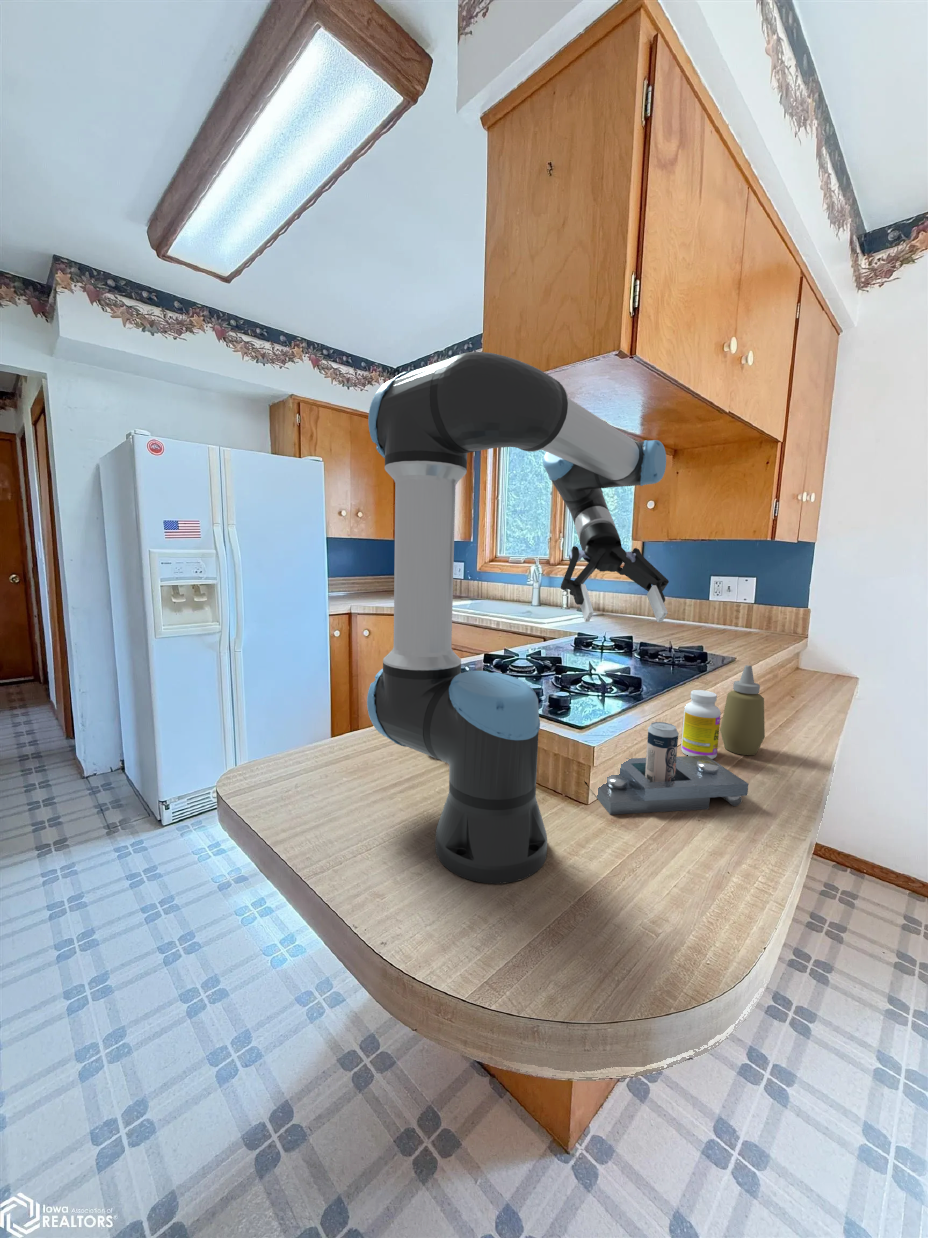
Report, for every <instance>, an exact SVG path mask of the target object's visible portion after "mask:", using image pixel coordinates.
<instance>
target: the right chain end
mask: <svg viewBox="0 0 928 1238" xmlns="http://www.w3.org/2000/svg"><path fill="white" fill-rule="evenodd" d="M628 759H629V758H628ZM645 768H646V757H633V758H631V759H629V760H628V761H626V762H624V763H623V764H621V768H620V774H619V775H620V776H623V777H625V778H626V779H627V783H628V784H629V785H630V786H631V787H632V789H633V790H634V791H635V792H636V793H637V794H638V795H639V796H640V797H641V798H642V799H643V800H644V801H650V800H670V799H689V798H709V797H710V798H722V799H724V800H725V801H726V802H728V803H729V804H730V805H731V806H734V807H738V806H740V804H741V803H742V802H743V801H742V800H743V797H745V796H748V793H749V783H748V782H747V781H745V780H744V779H743V778H741V777H739V776H737V775H736V774H735V773H733V772H732V771H731V770H729V769H728V768H726V767H724V766H723V765H721V764H720V763H719V762H717V761H715V760H714V759H711V758H709V757H708V756H706V755H705V756H687V755H685V756H683V755H682V756H677V757H676V770H675V779H676V780H677V781H665V782H650V781H649V780H648V779H647V778H646V777H645V776H644V775H643V774H645Z"/></svg>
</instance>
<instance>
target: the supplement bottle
mask: <svg viewBox="0 0 928 1238" xmlns="http://www.w3.org/2000/svg"><path fill="white" fill-rule="evenodd" d="M717 696H718V694H716V693H715V692H713V691H710V690H703V689H693V690H691V691H690V700H691V701H689V702H688V703H686V704H685V705H686V706H685V705H684V708H685V709H683V710H684V711H683V721H682V722H683V723H682V733H681V734H682V735H681V744H680V749H681V752H682V753H683V754H684V755H685V756H687V755H688V756H705V755H706V756H708V757H709V758H711V759H712V760H714V759H715V758H716V757H717V756H718V748H719V737H720V727H721V717H722V716H721V715H722V713H721V710H720V708H719V707H718V706H717V705H716V702H717V700H718V699H717V698H718V697H717Z"/></svg>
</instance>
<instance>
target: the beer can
mask: <svg viewBox="0 0 928 1238" xmlns="http://www.w3.org/2000/svg"><path fill="white" fill-rule="evenodd" d="M678 742H679V732H678V730H677V727H676V725H674V724H672V723H669V722H665V721H664V722H663V721H654V722H651V723H650V725H649V726H648V728H647V742H646V753H645V754H646V757H645V758H646V768H645V777H646V778H647V779H648V780H649V781H650V782H665V781H675V770H676V757H678V756H677V753H678Z"/></svg>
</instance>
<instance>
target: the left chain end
mask: <svg viewBox="0 0 928 1238" xmlns="http://www.w3.org/2000/svg"><path fill="white" fill-rule="evenodd" d="M643 775H644V776H645V774H643ZM675 781H677V780H676V779H675ZM596 799H597V800H598V802H599V803H600V804H601V805H602V806H603V808H604V809H605V810H606V811H607V812H608V814H609V815H625V814H626V815H628V814H629V815H630V814H644V813H645V814H646V813H647V814H648V813H663V812H681V811H682V812H683V811H701V810H710V801H711V800H710V799H711V797H709V798H689V799H670V800H650V801H644V800H643V799H642V798H641V797H640V796H639V795H638V794H637V793H636V792H635V791H634V790H633V789H632V787H631V786H630V785H629V784H628V783H627V779H626V778H625V777H623V776H620V775H611V776H609V777H607V783H606V784H603V785H602V786H601V787H599V788H598V795H597V797H596Z"/></svg>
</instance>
